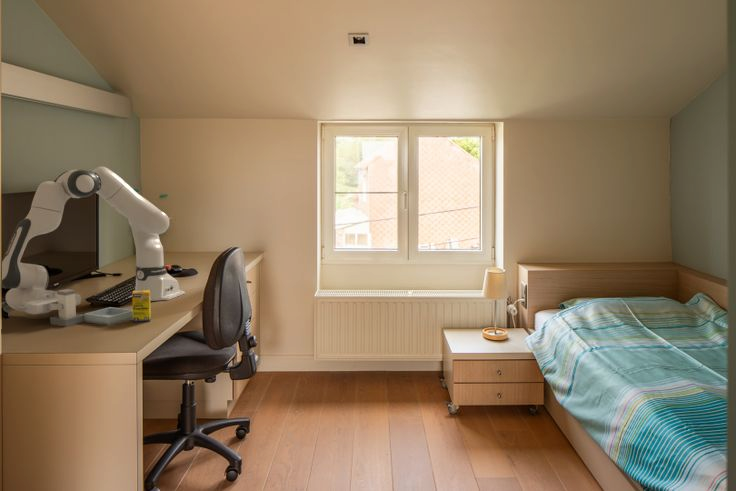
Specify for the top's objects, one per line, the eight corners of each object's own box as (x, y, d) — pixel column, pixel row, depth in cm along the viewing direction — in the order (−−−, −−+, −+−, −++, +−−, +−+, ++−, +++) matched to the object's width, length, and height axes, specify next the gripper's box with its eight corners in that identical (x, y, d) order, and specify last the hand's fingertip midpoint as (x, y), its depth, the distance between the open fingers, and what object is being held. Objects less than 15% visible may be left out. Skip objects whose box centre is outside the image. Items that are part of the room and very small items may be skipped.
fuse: (68, 321, 231) (66, 289, 229) (76, 322, 229) (75, 290, 227) (58, 323, 227) (57, 291, 225) (67, 324, 225) (65, 292, 223)
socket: (77, 317, 236) (76, 310, 236) (92, 319, 233) (92, 313, 233) (50, 324, 226) (50, 317, 225) (66, 326, 222) (65, 319, 222)
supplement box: (132, 322, 229) (131, 293, 228) (134, 318, 235) (133, 290, 233) (150, 321, 231) (149, 292, 229) (151, 317, 236) (150, 289, 235)
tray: (110, 314, 241) (110, 307, 240) (134, 318, 236) (134, 310, 235) (84, 321, 230) (84, 313, 229) (108, 325, 225) (108, 317, 224)
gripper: (15, 299, 222) (42, 302, 217) (64, 288, 241) (90, 292, 235) (16, 316, 223) (43, 320, 218) (65, 304, 242) (91, 308, 236)
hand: (68, 305), depth 227 cm, fingers closed on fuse, 4 cm apart
